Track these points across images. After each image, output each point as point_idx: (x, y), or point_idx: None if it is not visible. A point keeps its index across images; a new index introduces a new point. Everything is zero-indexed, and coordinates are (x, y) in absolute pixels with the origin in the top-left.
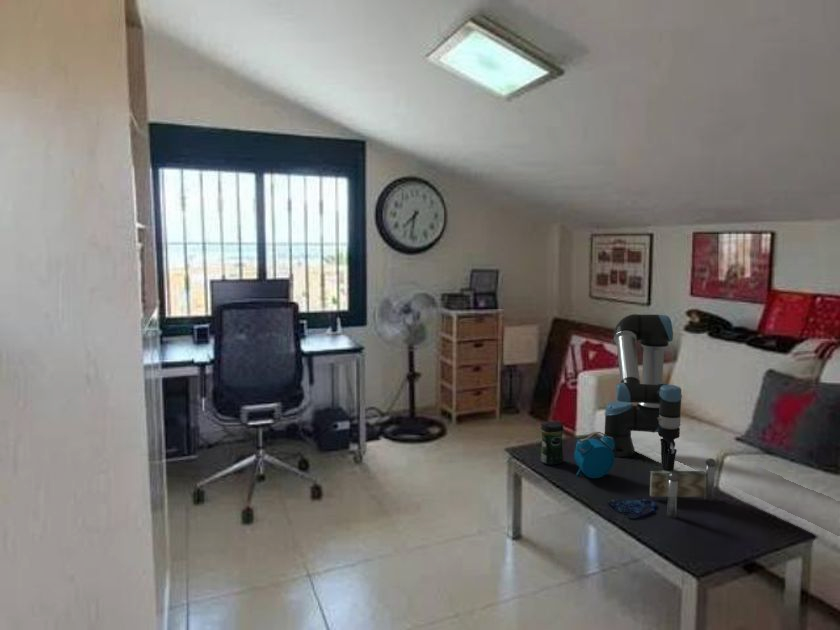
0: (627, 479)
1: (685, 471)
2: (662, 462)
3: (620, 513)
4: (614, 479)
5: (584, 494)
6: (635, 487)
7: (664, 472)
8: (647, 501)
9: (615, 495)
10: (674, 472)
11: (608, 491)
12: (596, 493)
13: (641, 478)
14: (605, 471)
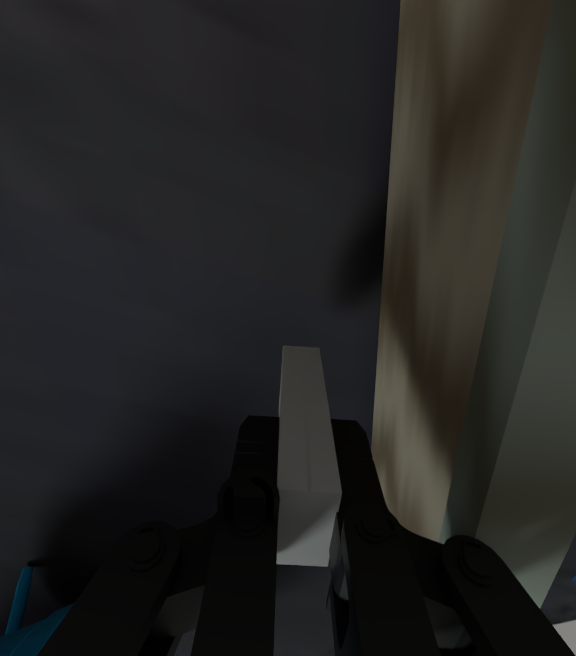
0: (87, 487)
1: (563, 341)
2: (179, 640)
3: None
4: (110, 540)
5: (318, 649)
6: (207, 477)
7: None
8: None
9: (326, 572)
10: (547, 536)
11: (279, 585)
12: (305, 620)
13: (35, 412)
14: None
